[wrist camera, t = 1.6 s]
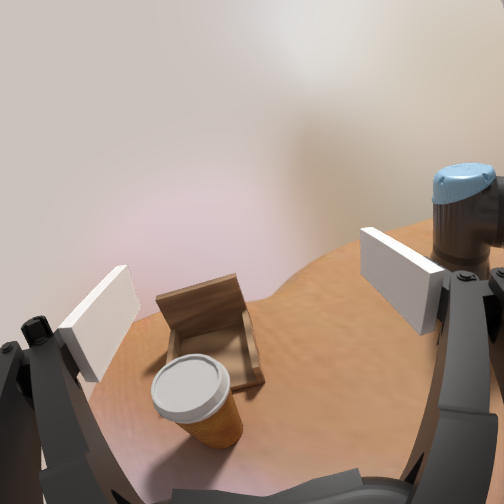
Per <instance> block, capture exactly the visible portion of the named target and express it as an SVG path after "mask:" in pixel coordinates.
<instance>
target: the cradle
mask: <svg viewBox="0 0 504 504" xmlns="http://www.w3.org/2000/svg"><path fill="white" fill-rule="evenodd" d="M156 302H157V304H158V306H159V308H160V310H161V312H162V314H163V316H164V318H165V320H166V322H167V323H168V325H169V327H170V329H171V332H170V339H169V346H168V353H167V360H166V364H168V363H169V362H171V361H172V360H174V359H176V358H179V357H182V356H185V355H189V354H203V355H207V356H210V357H211V358H213V359H215V360H216V361H218V362H219V363H221V364H222V365H223V366H224V367H225V368H226V370H227V372H228V374H229V376H230V389H231V391H234V390H238V389H242V388H246V387H250V386H254V385H258V384H262V383H265V378H264V374H263V370H262V365H261V361H260V357H259V352H258V348H257V343H256V339H255V334H254V330H253V325H252V321H251V318H250V315H249V312H248V309H247V306H246V303H245V301H244V298H243V295H242V292H241V289H240V286H239V283H238V280H237V277H236V274H235V273H233V274H230V275H227V276H223V277H220V278H216V279H213V280H210V281H207V282H203V283H199V284H196V285H193V286H189V287H186V288H182V289H179V290H176V291H172V292H169V293H165V294H161V295H158V296H156Z"/></svg>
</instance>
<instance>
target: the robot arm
mask: <svg viewBox="0 0 504 504" xmlns="http://www.w3.org/2000/svg"><path fill="white" fill-rule="evenodd" d="M501 2H502V3H503V7H504V0H501ZM432 202H433V251H432V253H431V256H430V258H428V257H425V256H422V255H420V254H418V253H417V252H415V251H413V250H412V249H410V248H408V247H407V246H405V245H403V244H401V243H400V242H398V241H396V240H394V239H393V238H391V237H389V236H387V235H386V234H384V233H382V232H380V231H378V230H376V229H375V228H373V227H368V228H362V229H360V244H361V275H362V276H363V277H364V278H365V279H366V280H367V281H368V282H369V283H370V284H371V285H372V286H373V287H374V288H375V289H376V290H377V291H378V292H379V293H380V294H381V295H382V296H383V297H384V298H385V299H386V300H387V301H388V302H389V303H390V304H391V305H392V306H393V307H394V308H395V309H396V310H397V311H398V313H399V314H400V315H401V316H402V317H403V318H404V319H405V320H406V321H407V322H408V323H409V324H410V325H411V326H412V327H413V329H414V330H415V331H416V332H417V333H418V334H419V335H420V336H421V335H424V334H427V333H430V332H432V331H434V330H435V325H436V320H437V318H438V319H439V320H440V321H441V322H442V326H441V330H440V334H439V338H438V342H437V345H438V351H437V357H436V363H435V368H434V373H433V378H432V383H431V388H430V392H429V396H428V400H427V404H426V408H425V412H424V415H423V419H422V422H421V425H420V429H419V432H418V435H417V438H416V441H415V444H414V447H413V450H412V452H411V455H410V458H409V460H408V463H407V465H406V467H405V469H404V471H403V473H402V475H401V477H400V479H399V480H398V479H393V478H387V477H361V476H360V473H359V470H358V468H355V469H352V470H348V471H345V472H341V473H337V474H333V475H329V476H325V477H321V478H316V479H312V480H310V481H308V482H305V483H303V484H300V485H298V486H295V487H293V488H290V489H287V490H285V491H282V492H279V493H276V494H273V495H270V496H266V497H259V496H251V495H243V494H236V493H230V492H224V491H219V490H185V489H173V493H172V499H168V500H164V501H160V502H157V503H154V504H485V503H486V499H487V495H488V491H489V486H490V481H491V476H492V471H493V465H494V459H495V452H496V443H497V433H498V416H497V415H496V414H494V413H489V404H490V360H489V356H490V359H491V362H492V365H493V368H494V371H495V374H496V378H497V381H498V384H499V388H500V391H501V395H502V399H503V403H504V268H503V267H501V268H493V269H491V270H490V262H489V253H490V247H498V248H504V177H501V176H496V173H495V171H494V168H493V167H492V166H490V165H486V164H480V163H463V164H457V165H452V166H448V167H445V168H443V169H441V170H439V171H438V172H437V173H436V174H435V176H434V179H433V197H432ZM140 308H141V305H140V303H139V299H138V296H137V293H136V290H135V287H134V284H133V281H132V277H131V274H130V270H129V267H128V265H123V266H117V267H115V269H114V270H112V271H111V272H110V273H109V274H108V275H107V276H106V277H105V278H104V279H103V280H102V281H101V282H100V283H99V284H98V285H97V286H96V287H95V288H94V289H93V290H92V291H91V293H89V295H88V296H87V297H86V298H85V299H84V300H83V301H82V302H81V303H80V304H79V305H78V306H77V307H76V308H75V309H74V310H73V311H72V313H71V314H70V315H69V316H68V317H67V318H66V319H65V320H64V321H63V323H62V324H61V325H60V326H59V327H58V329H57V330H56V331H55V332H54V333H53V332H52V330H51V328H50V326H49V324H48V321H47V319H46V317H45V316H37V317H34V318H32V319H30V320H28V321H27V322H25V323H24V324H23V325H22V327H21V330H22V332H23V335H24V337H25V339H26V341H27V343H28V345H29V349H27V350H22V349H21V347H20V345H19V344H18V342H17V341H12V342H7V343H5V344H4V345H2V347H1V348H0V504H44V503H43V494H44V497H45V500H46V503H47V504H145V503H144V502H143V501H142V500H141V498H140V497H139V496H138V494H137V493H136V491H135V490H134V488H133V487H132V485H131V484H130V482H129V481H128V479H127V477H126V476H125V474H124V473H123V471H122V469H121V468H120V466H119V464H118V462H117V461H116V459H115V457H114V455H113V454H112V452H111V450H110V448H109V446H108V444H107V442H106V440H105V438H104V436H103V434H102V432H101V430H100V428H99V426H98V424H97V422H96V420H95V418H94V415H93V413H92V411H91V409H90V406H89V404H88V402H87V400H86V397H85V394H84V392H83V389H82V387H81V384H80V382H79V381H78V379H77V375H78V373H79V372H81V374H82V376H83V377H84V379H85V381H86V382H99V383H100V381H101V379H102V378H103V376H104V374H105V372H106V370H107V368H108V366H109V364H110V362H111V360H112V358H113V357H114V355H115V353H116V351H117V349H118V347H119V346H120V344H121V342H122V340H123V338H124V337H125V335H126V333H127V331H128V329H129V328H130V326H131V324H132V322H133V321H134V318H135V317H136V315H137V314H138V312H139V310H140ZM41 445H42V450H43V453H44V457H45V461H46V465H47V468H46V469H44V470H41Z"/></svg>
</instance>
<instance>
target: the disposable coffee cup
mask: <svg viewBox="0 0 504 504" xmlns="http://www.w3.org/2000/svg"><path fill="white" fill-rule="evenodd" d="M151 394H152V398H153V404H154V407H155V409H156V410H157V412H158V413H159V414H160V415H161V416H163V417H164V418H166V419H167V420H170V421H173V422H175V423H176V424H177V425H179V426H180V427H181V428H183V429H184V430H185V431H187V432H188V433H190V434H191V435H193V436H194V437H195V438H197V439H198V440H200V441H201V442H202V443H204V444H205V445H207V446H208V447H210V448H214V449H223V448H227V447H229V446H231V445H233V444H234V443H236V442H237V441H238V440H239V438H240V437H241V435H242V432H243V424H242V421H241V419H240V416H239V413H238V410H237V407H236V404H235V401H234V398H233V395H232V392H231V389H230V376H229V374H228V372H227V370H226V368H225V367H224V366H223V365H222V364H221V363H219V362H218V361H216V360H215V359H213V358H211V357H210V356H207V355H203V354H189V355H185V356H182V357H179V358H176V359H174V360H172V361H171V362H169V363H168V364H166V365H165V366H164V367H163V368H162V369H161V370H160V371H159V372H158V373H157V375H156V376H155V378H154V380H153V383H152V386H151Z"/></svg>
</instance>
